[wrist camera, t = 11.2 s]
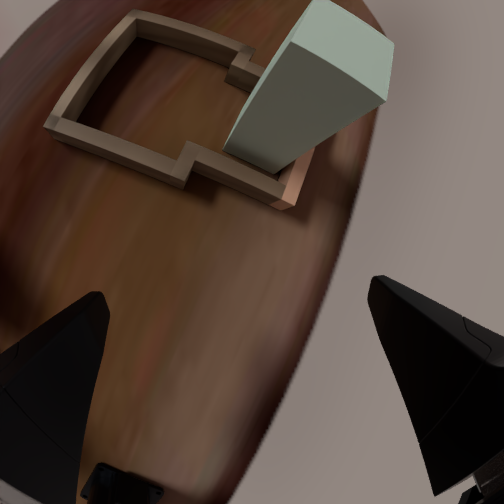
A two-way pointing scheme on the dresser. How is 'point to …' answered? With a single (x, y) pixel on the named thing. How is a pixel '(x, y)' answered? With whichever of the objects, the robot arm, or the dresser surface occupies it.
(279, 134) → the pale green square pillar
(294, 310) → the dresser surface
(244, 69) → the keyhole track
